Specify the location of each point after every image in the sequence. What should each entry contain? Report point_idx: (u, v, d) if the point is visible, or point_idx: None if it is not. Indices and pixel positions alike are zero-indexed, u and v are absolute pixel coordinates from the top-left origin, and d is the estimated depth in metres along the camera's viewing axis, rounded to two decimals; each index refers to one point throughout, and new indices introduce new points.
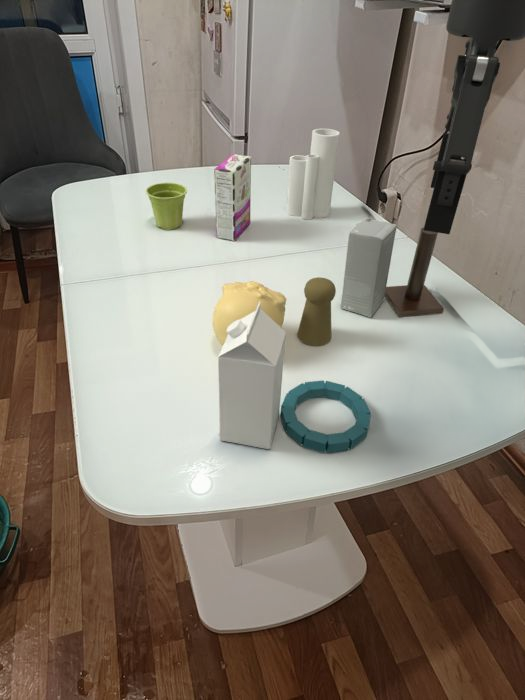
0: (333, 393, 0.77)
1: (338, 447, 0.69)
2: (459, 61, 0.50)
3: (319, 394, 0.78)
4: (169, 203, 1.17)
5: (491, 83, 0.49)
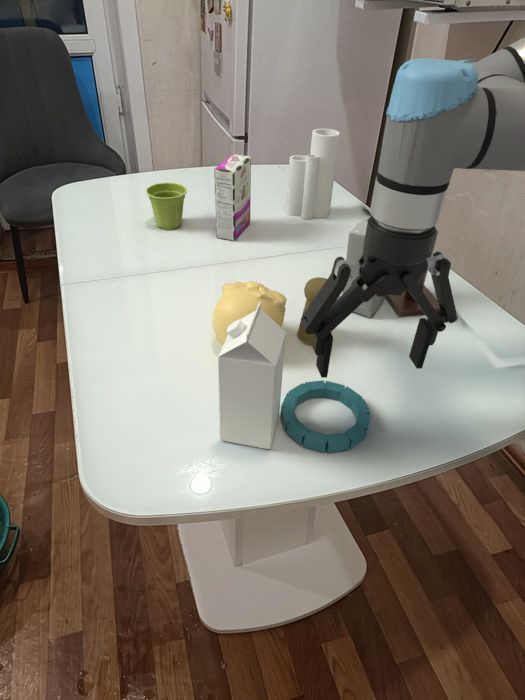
0: (333, 393, 0.77)
1: (338, 447, 0.69)
2: None
3: (319, 394, 0.78)
4: (169, 203, 1.17)
5: (371, 286, 0.59)
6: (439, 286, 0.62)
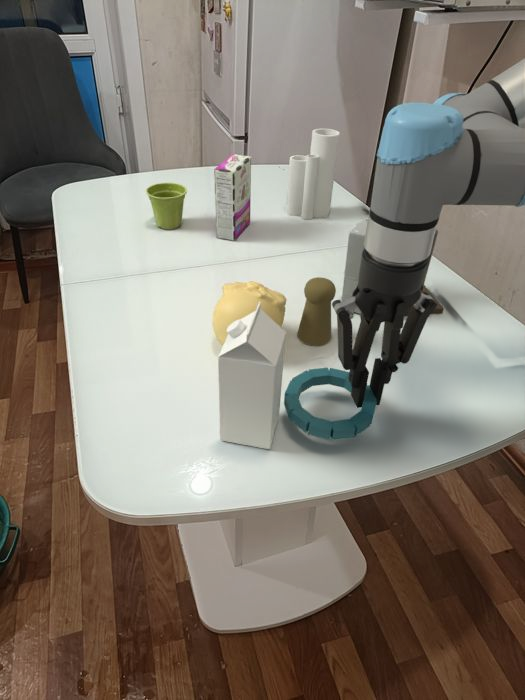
0: (337, 380, 0.75)
1: (343, 434, 0.67)
2: None
3: (323, 381, 0.76)
4: (169, 203, 1.17)
5: (372, 319, 0.62)
6: (415, 323, 0.65)
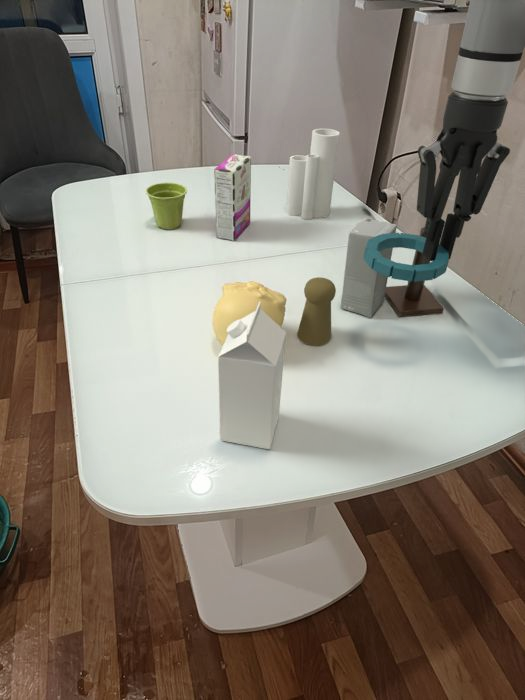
0: (409, 242, 0.83)
1: (424, 275, 0.75)
2: None
3: (395, 244, 0.84)
4: (169, 203, 1.17)
5: (454, 162, 0.70)
6: (488, 170, 0.73)
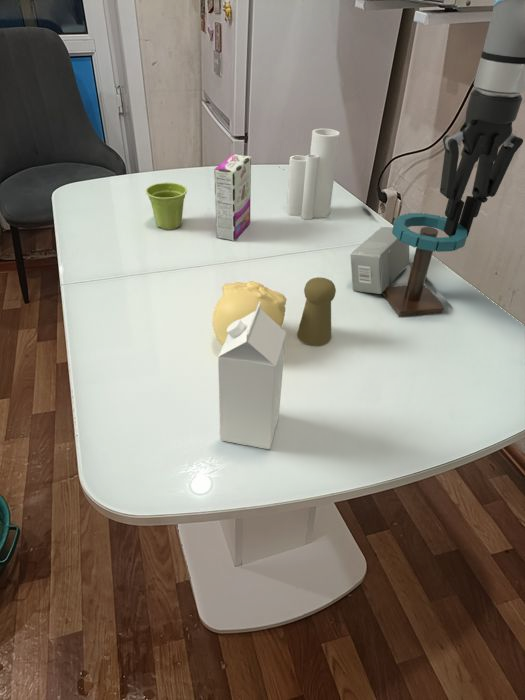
0: (432, 221, 0.94)
1: (446, 246, 0.86)
2: None
3: (420, 222, 0.95)
4: (169, 203, 1.17)
5: (474, 149, 0.81)
6: (504, 158, 0.84)
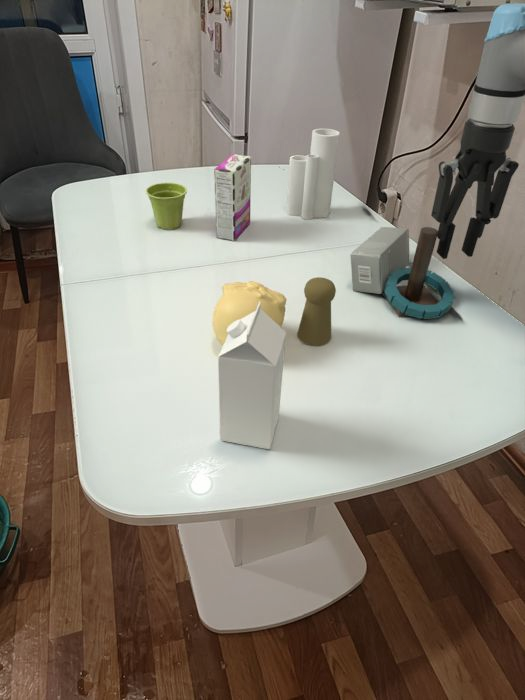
0: None
1: (431, 315, 0.94)
2: None
3: None
4: (169, 203, 1.17)
5: (469, 176, 0.84)
6: (502, 182, 0.87)
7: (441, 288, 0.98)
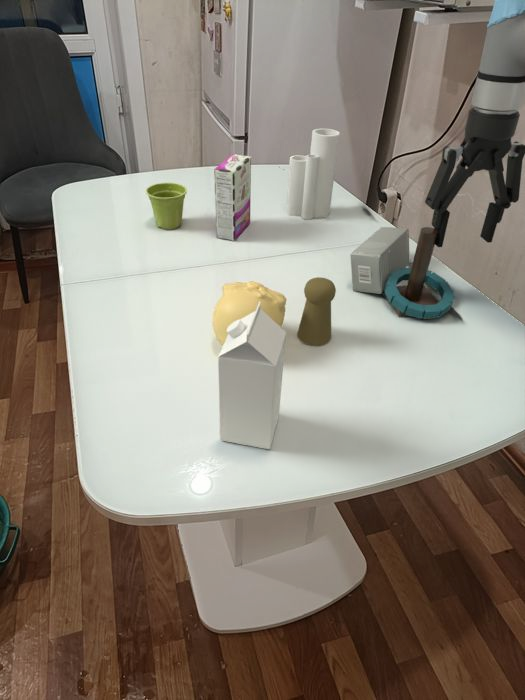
0: None
1: (431, 315, 0.94)
2: None
3: None
4: (169, 203, 1.17)
5: (472, 163, 0.83)
6: (514, 167, 0.85)
7: (441, 288, 0.98)
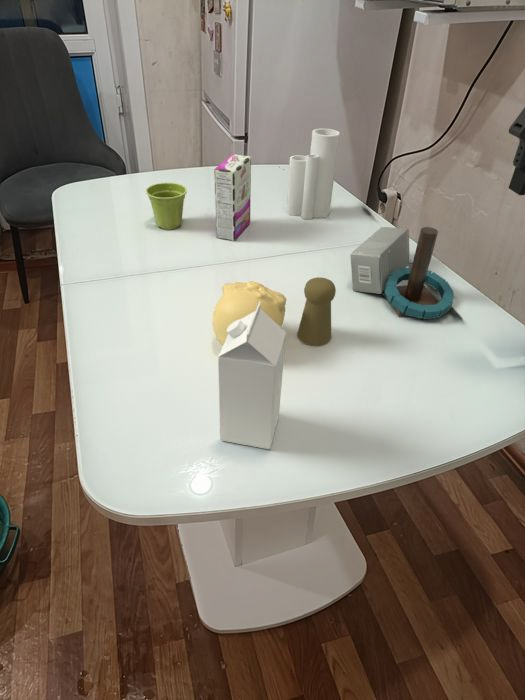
0: None
1: (431, 315, 0.94)
2: None
3: None
4: (169, 203, 1.17)
5: None
6: None
7: (441, 288, 0.98)
